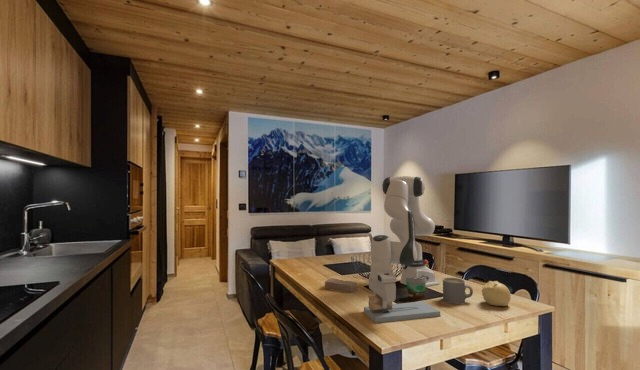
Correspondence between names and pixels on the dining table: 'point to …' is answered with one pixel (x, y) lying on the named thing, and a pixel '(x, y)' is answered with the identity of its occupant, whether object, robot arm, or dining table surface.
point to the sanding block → (378, 303)
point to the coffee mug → (455, 290)
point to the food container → (416, 287)
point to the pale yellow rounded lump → (496, 293)
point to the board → (403, 312)
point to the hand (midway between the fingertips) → (381, 305)
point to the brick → (340, 285)
